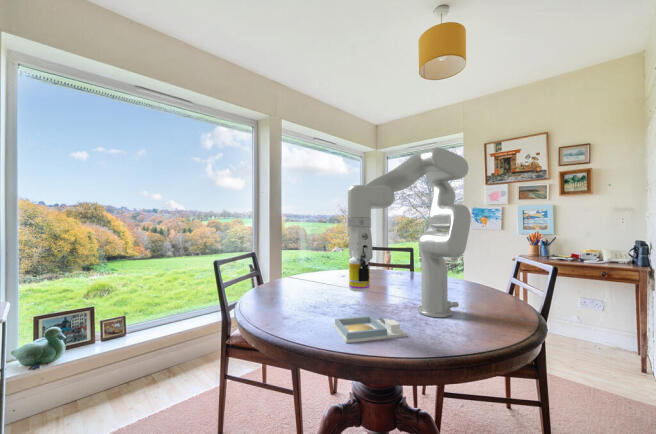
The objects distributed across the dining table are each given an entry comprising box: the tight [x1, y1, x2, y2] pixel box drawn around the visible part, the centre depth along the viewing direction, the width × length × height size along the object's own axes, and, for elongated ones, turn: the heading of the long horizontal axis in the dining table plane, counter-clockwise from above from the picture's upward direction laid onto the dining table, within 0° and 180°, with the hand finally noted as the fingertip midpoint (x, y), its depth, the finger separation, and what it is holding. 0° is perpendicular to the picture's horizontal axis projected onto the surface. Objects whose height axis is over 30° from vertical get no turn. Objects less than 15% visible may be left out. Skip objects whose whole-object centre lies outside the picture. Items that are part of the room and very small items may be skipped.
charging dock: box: [332, 315, 408, 344], centre depth 95 cm, size 20×14×3 cm
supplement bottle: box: [348, 251, 371, 293], centre depth 94 cm, size 7×7×13 cm
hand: (359, 278), depth 94 cm, fingers closed on supplement bottle, 6 cm apart
